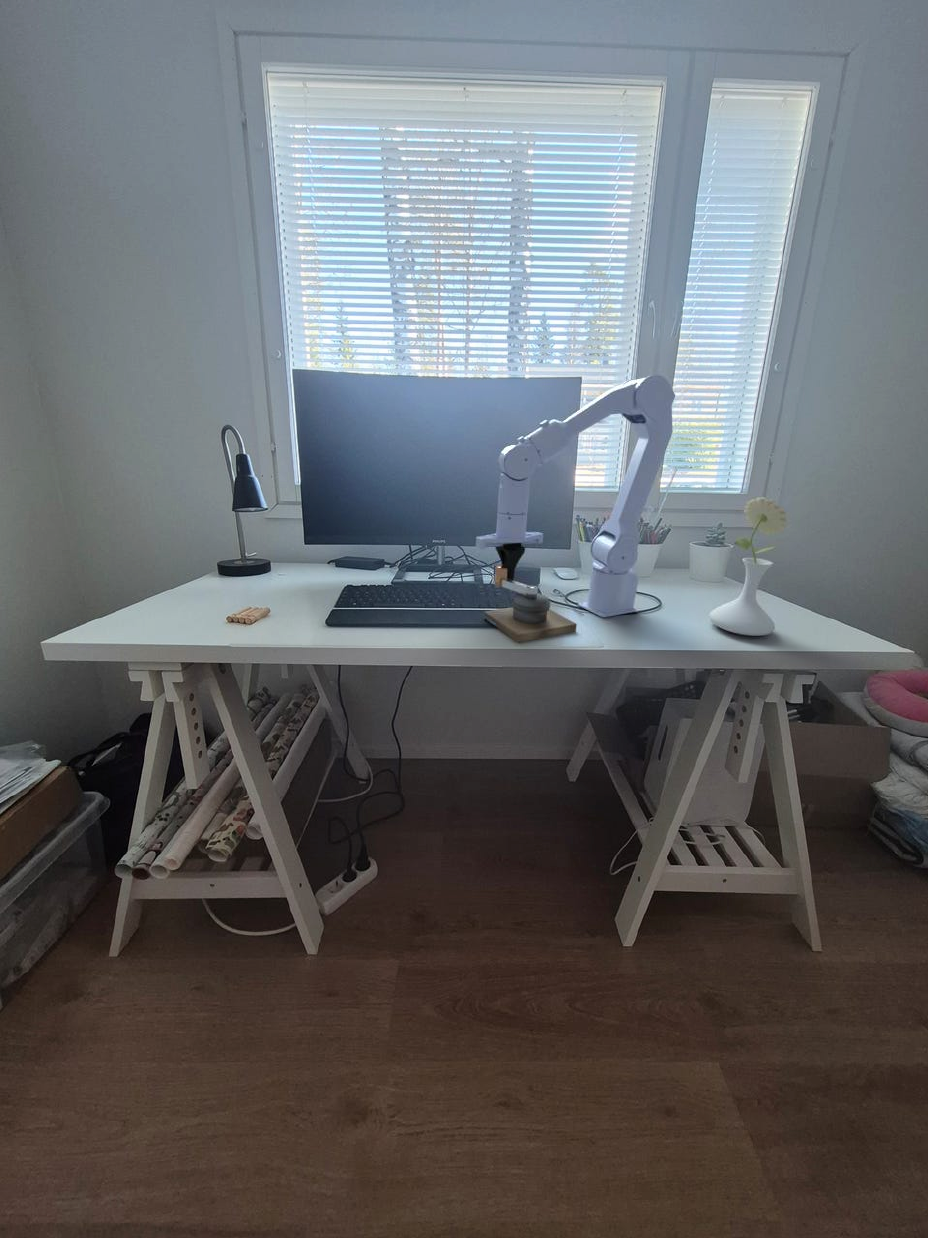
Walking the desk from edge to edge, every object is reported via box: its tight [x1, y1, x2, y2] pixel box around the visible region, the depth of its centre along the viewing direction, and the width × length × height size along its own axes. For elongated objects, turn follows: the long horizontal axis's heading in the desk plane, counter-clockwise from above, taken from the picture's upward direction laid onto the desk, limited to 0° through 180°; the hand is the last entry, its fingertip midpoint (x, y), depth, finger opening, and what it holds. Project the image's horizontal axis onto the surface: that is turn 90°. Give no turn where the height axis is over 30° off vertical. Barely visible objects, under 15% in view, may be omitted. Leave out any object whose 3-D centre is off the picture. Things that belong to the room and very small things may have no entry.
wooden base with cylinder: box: [483, 592, 578, 643], centre depth 89 cm, size 13×12×6 cm
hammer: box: [494, 564, 539, 599], centre depth 90 cm, size 10×2×4 cm, turn 43°
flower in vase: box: [708, 496, 788, 637], centre depth 88 cm, size 13×11×25 cm
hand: (507, 580), depth 94 cm, fingers closed
